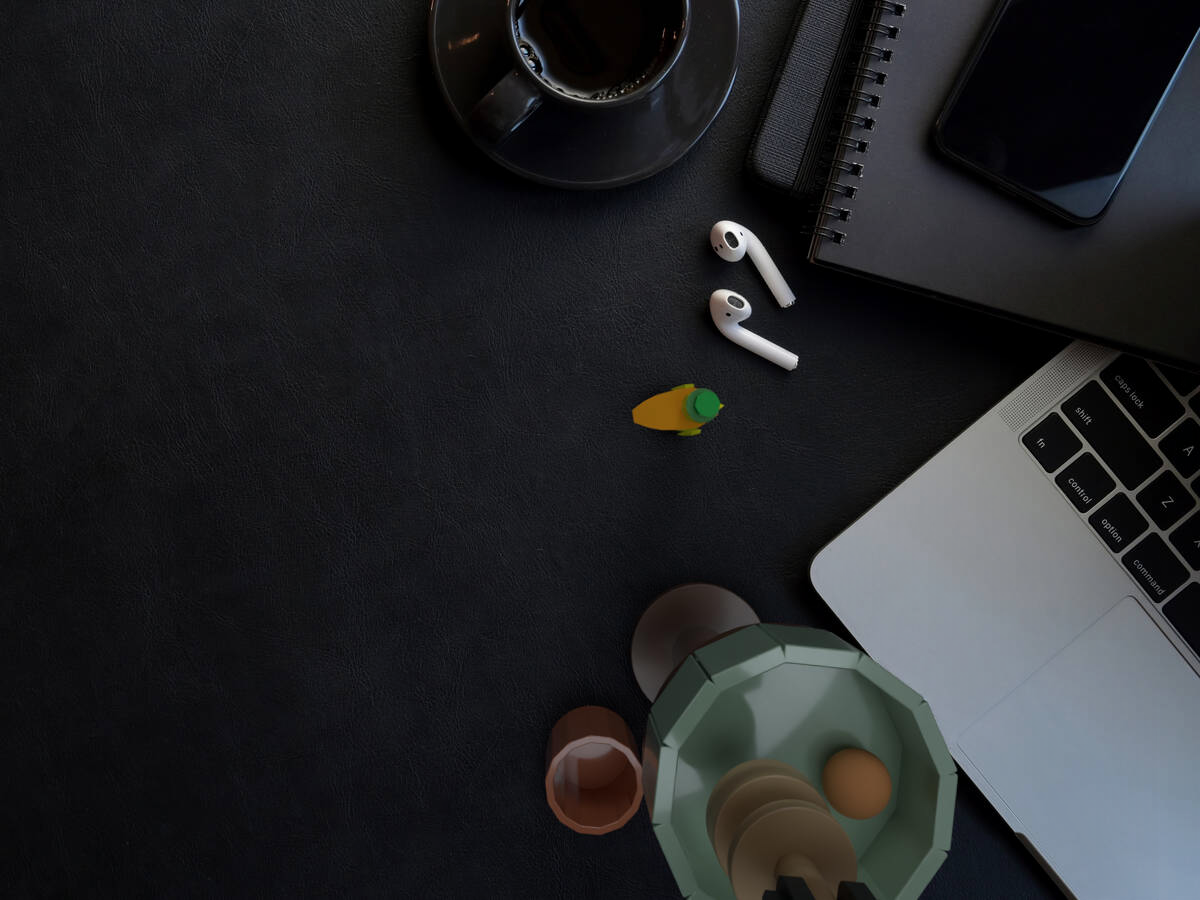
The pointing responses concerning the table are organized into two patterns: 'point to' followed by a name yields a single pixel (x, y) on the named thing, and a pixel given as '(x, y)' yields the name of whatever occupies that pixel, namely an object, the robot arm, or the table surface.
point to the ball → (856, 783)
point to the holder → (593, 771)
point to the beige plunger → (776, 831)
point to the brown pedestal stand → (683, 631)
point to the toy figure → (679, 410)
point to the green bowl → (797, 751)
